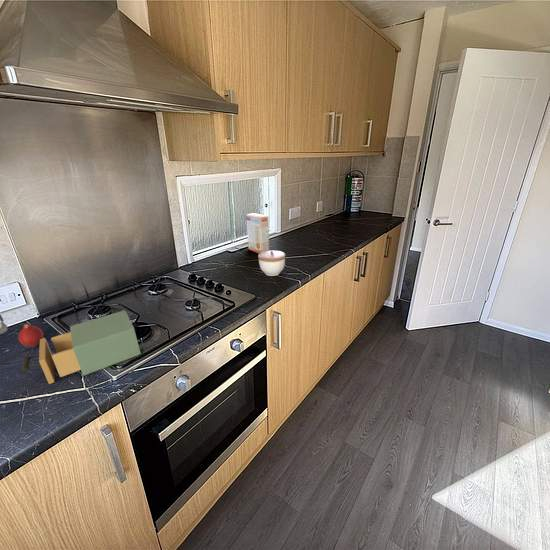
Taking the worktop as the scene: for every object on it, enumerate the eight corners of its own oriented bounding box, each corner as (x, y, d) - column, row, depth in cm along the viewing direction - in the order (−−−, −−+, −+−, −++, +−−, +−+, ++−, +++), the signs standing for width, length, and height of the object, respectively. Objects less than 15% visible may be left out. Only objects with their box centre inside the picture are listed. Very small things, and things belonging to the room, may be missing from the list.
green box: (83, 376, 78) (72, 348, 74) (79, 352, 87) (69, 326, 84) (140, 354, 85) (134, 327, 82) (131, 334, 95) (125, 310, 91)
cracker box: (270, 253, 165) (268, 216, 157) (261, 255, 162) (259, 217, 154) (256, 247, 176) (254, 212, 167) (248, 249, 172) (245, 213, 164)
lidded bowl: (276, 280, 131) (275, 257, 126) (253, 274, 137) (252, 252, 133) (290, 270, 140) (290, 248, 136) (268, 266, 147) (267, 245, 142)
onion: (29, 342, 93) (19, 320, 89) (50, 339, 94) (41, 317, 91) (19, 353, 87) (9, 331, 84) (41, 350, 89) (32, 327, 86)
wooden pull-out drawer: (27, 392, 72) (16, 368, 69) (29, 367, 80) (19, 345, 77) (108, 362, 81) (101, 340, 78) (102, 342, 90) (95, 322, 87)
